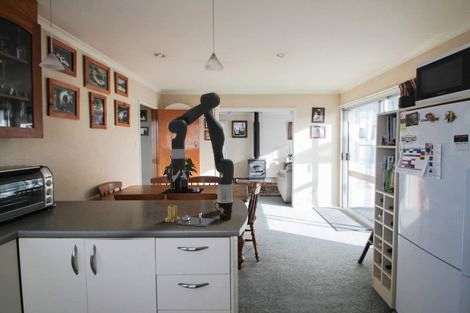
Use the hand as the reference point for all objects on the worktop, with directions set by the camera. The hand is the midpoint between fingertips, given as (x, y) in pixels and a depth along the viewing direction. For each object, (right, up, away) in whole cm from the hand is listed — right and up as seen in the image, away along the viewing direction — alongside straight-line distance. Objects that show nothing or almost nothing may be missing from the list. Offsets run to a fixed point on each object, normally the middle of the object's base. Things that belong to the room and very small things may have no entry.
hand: (178, 187), depth 149 cm
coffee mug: (+24, -19, +11) cm, 32 cm away
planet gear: (-5, -19, +7) cm, 21 cm away
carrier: (+9, -19, +2) cm, 21 cm away
